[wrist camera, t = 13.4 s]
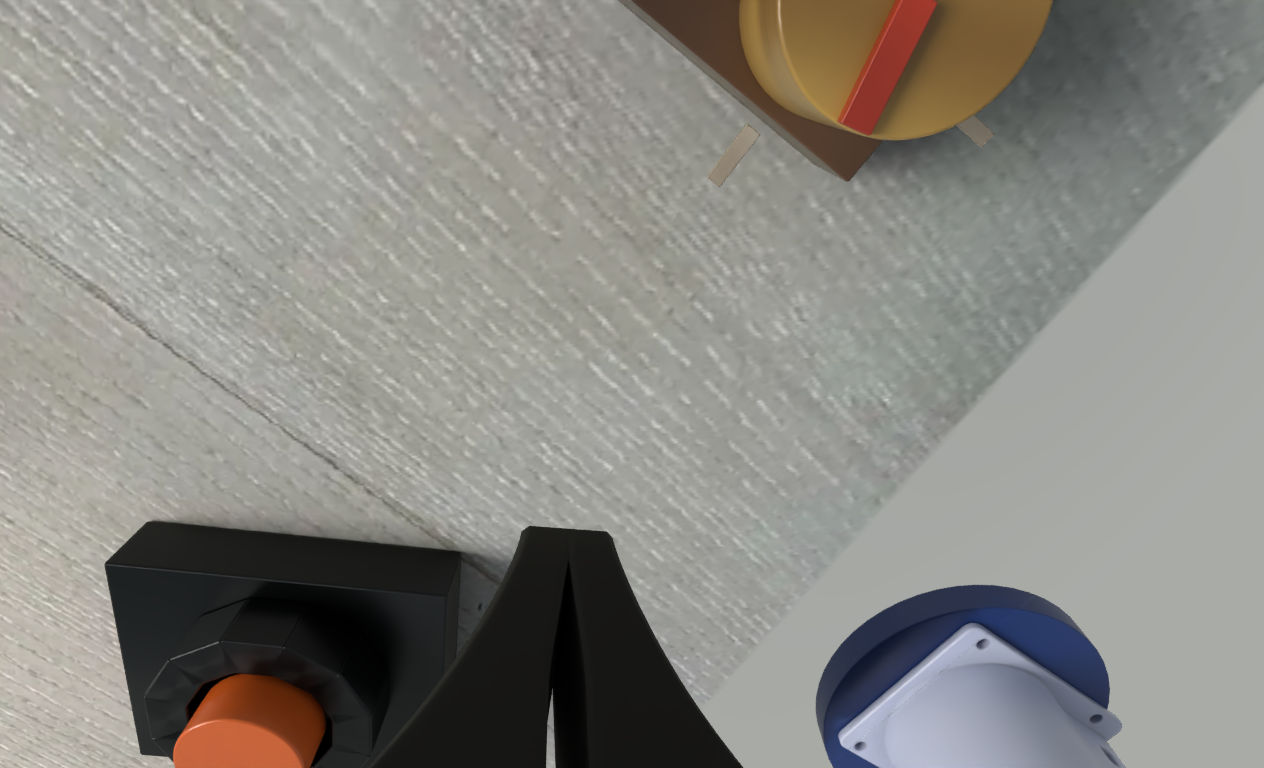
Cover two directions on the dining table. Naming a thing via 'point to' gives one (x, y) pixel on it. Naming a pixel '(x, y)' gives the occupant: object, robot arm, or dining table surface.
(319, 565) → the button box
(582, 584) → the robot arm
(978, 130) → the knob panel
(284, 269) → the dining table surface
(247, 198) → the dining table surface
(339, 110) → the dining table surface
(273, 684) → the button
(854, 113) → the knob
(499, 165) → the dining table surface
